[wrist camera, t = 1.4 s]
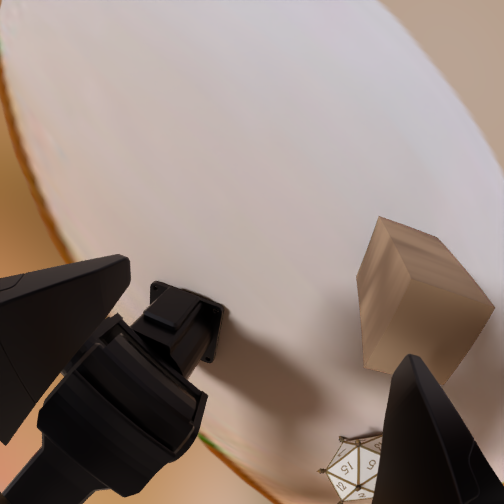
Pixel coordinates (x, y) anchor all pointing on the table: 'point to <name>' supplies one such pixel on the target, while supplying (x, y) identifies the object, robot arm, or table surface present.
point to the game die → (355, 468)
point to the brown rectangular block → (416, 302)
